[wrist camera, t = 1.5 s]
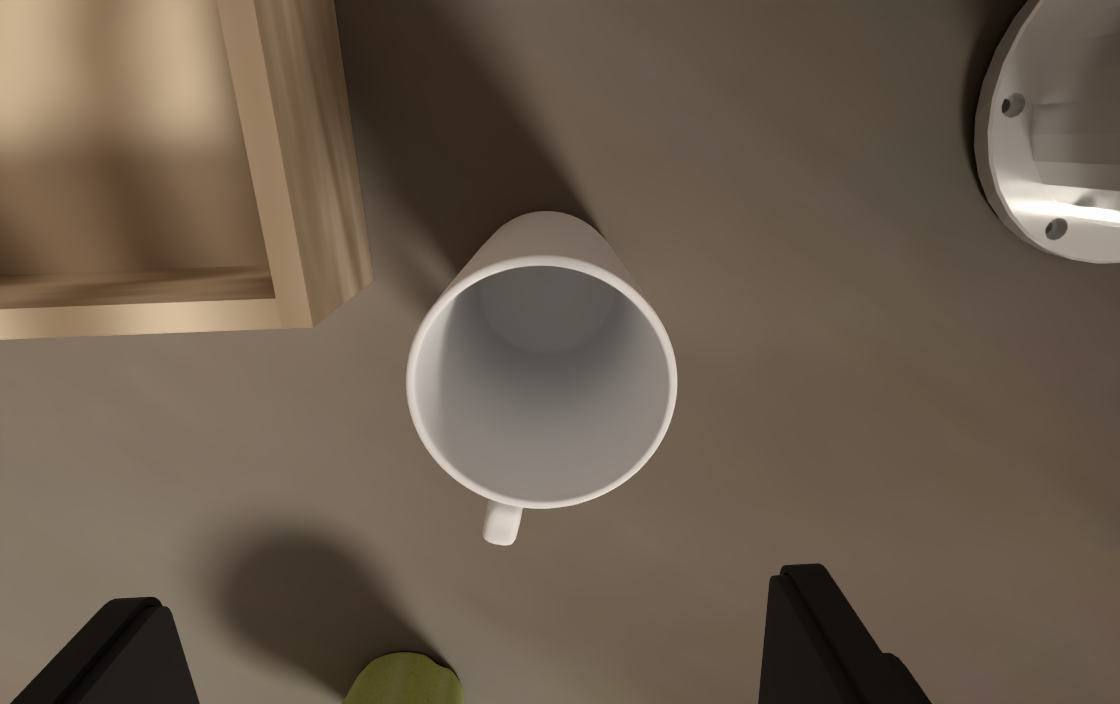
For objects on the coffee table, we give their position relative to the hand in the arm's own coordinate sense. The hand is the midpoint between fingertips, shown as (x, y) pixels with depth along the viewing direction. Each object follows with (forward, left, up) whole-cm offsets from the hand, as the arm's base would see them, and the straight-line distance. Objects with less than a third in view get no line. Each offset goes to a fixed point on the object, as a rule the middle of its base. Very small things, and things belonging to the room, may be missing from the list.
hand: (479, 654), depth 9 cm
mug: (0, 0, -19) cm, 19 cm away
